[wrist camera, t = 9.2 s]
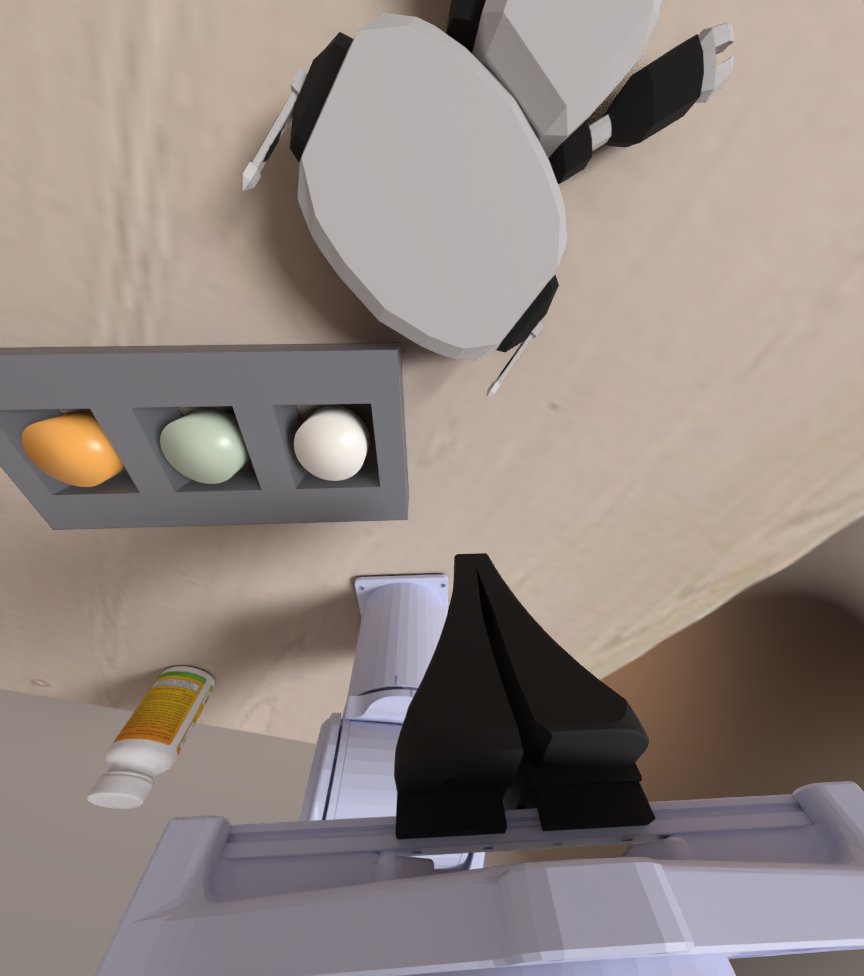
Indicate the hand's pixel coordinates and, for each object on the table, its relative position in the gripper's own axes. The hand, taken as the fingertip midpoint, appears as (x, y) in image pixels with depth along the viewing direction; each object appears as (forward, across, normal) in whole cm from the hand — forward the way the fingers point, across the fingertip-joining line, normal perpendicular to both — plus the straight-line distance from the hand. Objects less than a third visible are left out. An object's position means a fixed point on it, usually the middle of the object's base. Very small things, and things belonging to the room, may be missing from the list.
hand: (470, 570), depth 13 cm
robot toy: (+10, -1, -15) cm, 18 cm away
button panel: (+9, +14, -3) cm, 17 cm away
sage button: (+8, +14, -3) cm, 17 cm away
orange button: (+8, +21, -3) cm, 23 cm away
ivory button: (+8, +7, -3) cm, 11 cm away
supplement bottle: (+10, +28, +25) cm, 39 cm away
